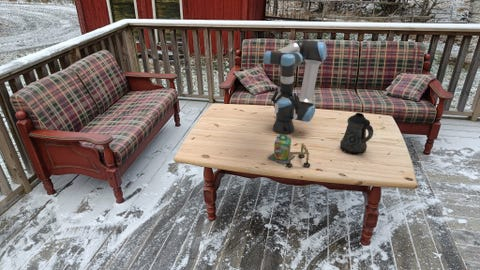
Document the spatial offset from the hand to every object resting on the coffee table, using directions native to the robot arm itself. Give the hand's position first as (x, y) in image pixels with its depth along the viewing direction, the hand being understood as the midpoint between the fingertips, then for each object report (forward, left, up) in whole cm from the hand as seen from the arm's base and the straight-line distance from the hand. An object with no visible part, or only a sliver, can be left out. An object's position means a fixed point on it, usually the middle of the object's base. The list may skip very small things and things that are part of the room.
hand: (285, 115), depth 202 cm
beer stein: (+32, +35, -27) cm, 55 cm away
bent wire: (+14, -2, -27) cm, 31 cm away
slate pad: (+1, -4, -27) cm, 27 cm away
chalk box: (+2, -4, -26) cm, 27 cm away
